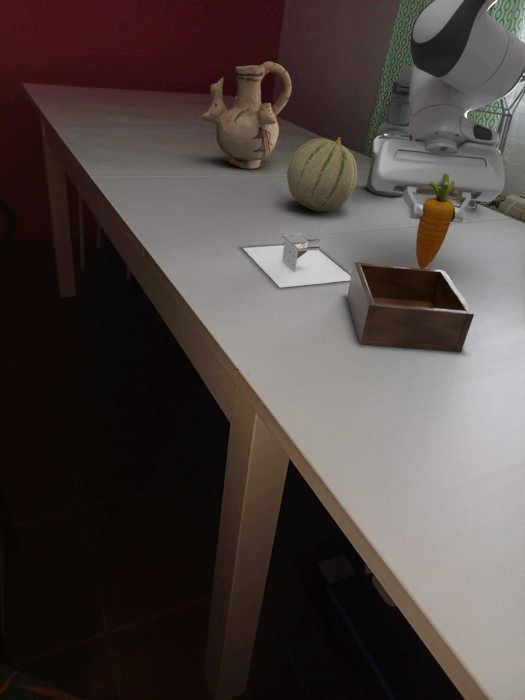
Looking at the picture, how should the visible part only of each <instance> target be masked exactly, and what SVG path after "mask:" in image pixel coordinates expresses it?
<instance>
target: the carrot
mask: <svg viewBox="0 0 525 700" xmlns="http://www.w3.org/2000/svg"><path fill="white" fill-rule="evenodd" d="M454 184H455V182H454V181H453V180H452V181H451V182H450V184H449V175H448V174H443V186H442V187H441V186H437V184H436V183H434V182H433V181H430V182H429V185H430V186H432V187H433V189H434V191H435V193H436V196H435V197H428V198H427V199H425V201H424V202H423V216H422V217H421V219H419V221H418V226H417V230H416V241H415V254H416V260H417V265H418V268H423V269H427V267H428V266H429V264H430V263H431V262H433V260H434V259H435V258H436V256H437V254H439V251H440V249H441V247H442V245H443V243H444V242H445V239H446V236H447V233H448V231H449V228H450V225H451V223H452V222H451V219H452V216H453V212H454V208H455V206H454V205H455V204H454V203H453V202H452V201H450V200H449V199H448V200H446V199H447V198H446V197H447V196H448V194H449V193H450V191H451V190H452V188H453V186H454Z"/></svg>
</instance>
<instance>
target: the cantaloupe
mask: <svg viewBox="0 0 525 700" xmlns="http://www.w3.org/2000/svg"><path fill="white" fill-rule="evenodd" d="M356 162H357V161H356V159H355V157H354V155H353V154H352V152H351V151H350V150H349V149H348V148H346V147H345V146H344V145H342V137H337V139H336V140H332V139H329V138H324V137H319V138H314V139H311V140H309V141H307V142H305V143H304V144H303V145H301V146H300V147H298V149H297V150H296V151H295V152H294V153H293V156H292V157H291V158H290V161H289V163H288V167H287V172H286V178H287V179H286V181H287V186H288V190H289V192H290V195H291V196H292V197H293V198H294V199H295V200H296V201H297V202H298V203H299V204H301V205H303V206H304V207H306V209H309V210H312V211H315V212H327V211H333V210H334V209H337V208H339V207H341V206H342V205H344V204H345V203H346V202H347V201H348V200H349V198H350V197H351V196H352V194H353V192H354V190H355V189H356V188H355V187H356V185H357V182H358V181H357V180H358V166H357V163H356Z"/></svg>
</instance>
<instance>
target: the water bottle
mask: <svg viewBox="0 0 525 700" xmlns="http://www.w3.org/2000/svg"><path fill="white" fill-rule="evenodd" d="M412 67H413V65H406V64H405V65H404V66H403V67H402V69H401V72H400V75H399V78H395V79H394V80H393V82H392V87H391V92H390V96H391V97H390V100H389V102H388V103H387V107H386V112H385V117H384V122H382V123H381V124H380V125H379V126H378V127H377V131H376V135H375V138H376V137H377V136H380V135H382V134H383V133H390V134H394V135H409V120H410V117H411V108H410V105H409V87H410V77H411V71H412ZM371 155H372V156H371V160H370V165H369V170H368V175H367V181H366V188H367V190H368V191H369V192H371V193H374V194H377V195H379V196H383V197H384V196H385V197H400V196H402V195H403V193H397V192H386V191H377V190H375V188H374V187H373V186H372V184H371V180H372V172H373V166H374V162H375V157H374V155H373V154H371Z"/></svg>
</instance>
